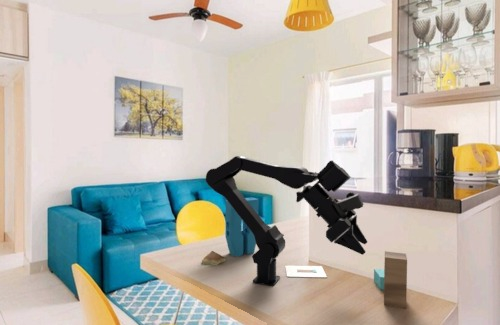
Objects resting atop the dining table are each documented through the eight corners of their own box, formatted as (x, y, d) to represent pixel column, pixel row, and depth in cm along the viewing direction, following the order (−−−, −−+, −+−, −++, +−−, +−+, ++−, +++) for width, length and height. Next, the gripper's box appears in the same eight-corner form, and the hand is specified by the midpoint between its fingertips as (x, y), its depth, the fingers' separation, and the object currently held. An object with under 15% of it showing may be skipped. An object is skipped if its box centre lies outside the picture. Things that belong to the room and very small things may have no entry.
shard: (212, 254, 119) (212, 249, 119) (231, 256, 117) (231, 251, 117) (200, 264, 108) (200, 259, 108) (222, 266, 107) (222, 261, 107)
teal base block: (402, 290, 87) (403, 278, 87) (380, 289, 88) (380, 277, 88) (395, 281, 93) (395, 269, 93) (373, 280, 94) (374, 268, 94)
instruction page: (327, 277, 96) (327, 276, 96) (287, 277, 97) (287, 276, 97) (321, 266, 105) (321, 265, 105) (285, 266, 106) (285, 265, 106)
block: (251, 248, 125) (252, 197, 123) (258, 251, 120) (259, 199, 119) (224, 253, 118) (224, 200, 117) (231, 257, 114) (231, 202, 113)
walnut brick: (406, 308, 78) (407, 259, 77) (383, 304, 80) (384, 257, 79) (405, 299, 82) (405, 253, 82) (383, 296, 84) (384, 251, 84)
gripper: (340, 187, 76) (390, 237, 72) (348, 180, 93) (389, 220, 89) (307, 217, 79) (353, 267, 75) (320, 205, 96) (359, 245, 93)
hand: (365, 248), depth 83 cm, fingers open, 9 cm apart
